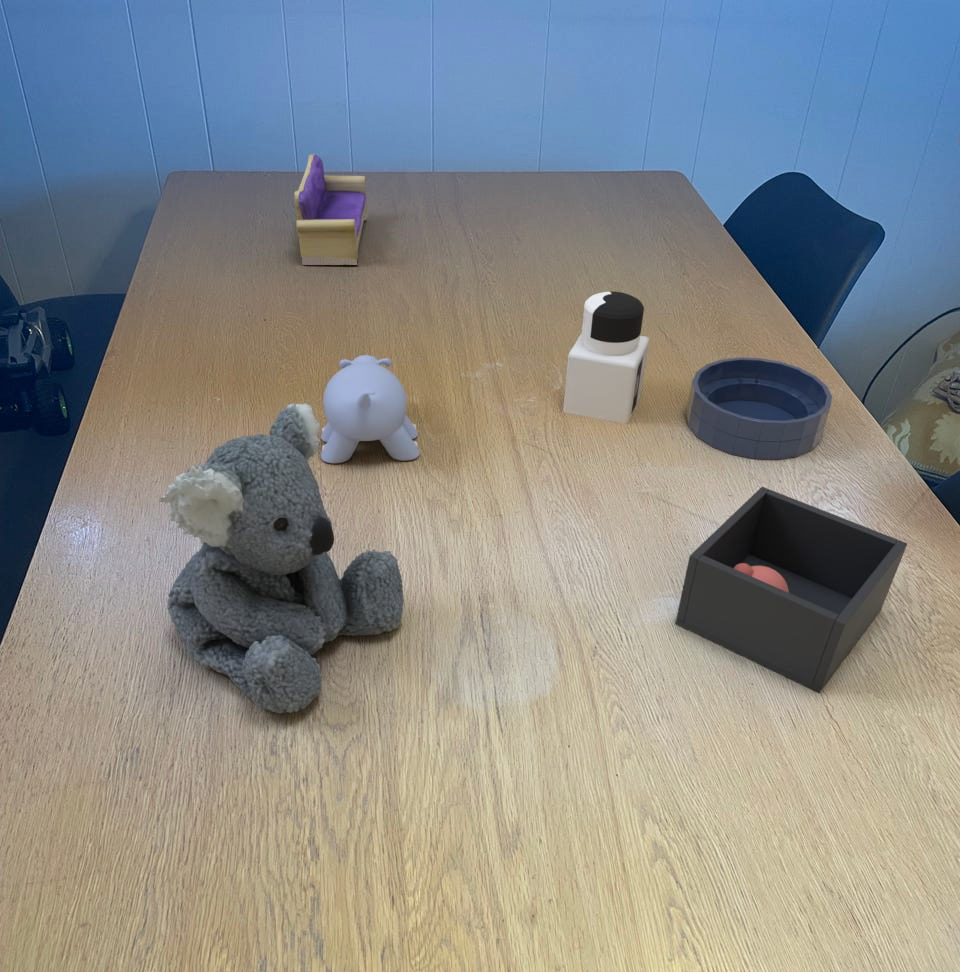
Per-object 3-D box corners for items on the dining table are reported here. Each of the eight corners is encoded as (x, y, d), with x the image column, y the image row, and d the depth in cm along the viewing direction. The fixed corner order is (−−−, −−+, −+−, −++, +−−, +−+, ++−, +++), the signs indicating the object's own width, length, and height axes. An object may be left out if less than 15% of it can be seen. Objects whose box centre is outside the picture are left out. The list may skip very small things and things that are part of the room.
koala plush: (290, 737, 74) (257, 531, 61) (126, 650, 81) (64, 448, 68) (418, 615, 85) (413, 418, 72) (264, 547, 92) (233, 356, 79)
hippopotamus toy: (414, 403, 114) (412, 325, 107) (422, 472, 103) (420, 390, 96) (322, 406, 113) (314, 328, 106) (320, 476, 102) (311, 394, 95)
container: (641, 397, 116) (656, 291, 107) (627, 427, 110) (642, 318, 102) (579, 385, 118) (589, 280, 109) (562, 415, 112) (571, 307, 103)
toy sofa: (358, 268, 143) (353, 196, 136) (299, 267, 143) (292, 195, 136) (369, 219, 159) (365, 152, 152) (316, 218, 158) (310, 150, 152)
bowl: (841, 424, 112) (853, 385, 109) (784, 479, 103) (796, 438, 100) (723, 383, 119) (731, 345, 116) (661, 432, 110) (668, 392, 107)
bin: (880, 610, 87) (907, 543, 82) (819, 693, 79) (845, 624, 74) (744, 552, 93) (761, 485, 88) (674, 623, 85) (689, 555, 80)
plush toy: (806, 571, 83) (759, 561, 80) (796, 631, 83) (750, 623, 80) (760, 569, 87) (714, 559, 84) (751, 625, 87) (705, 618, 84)
